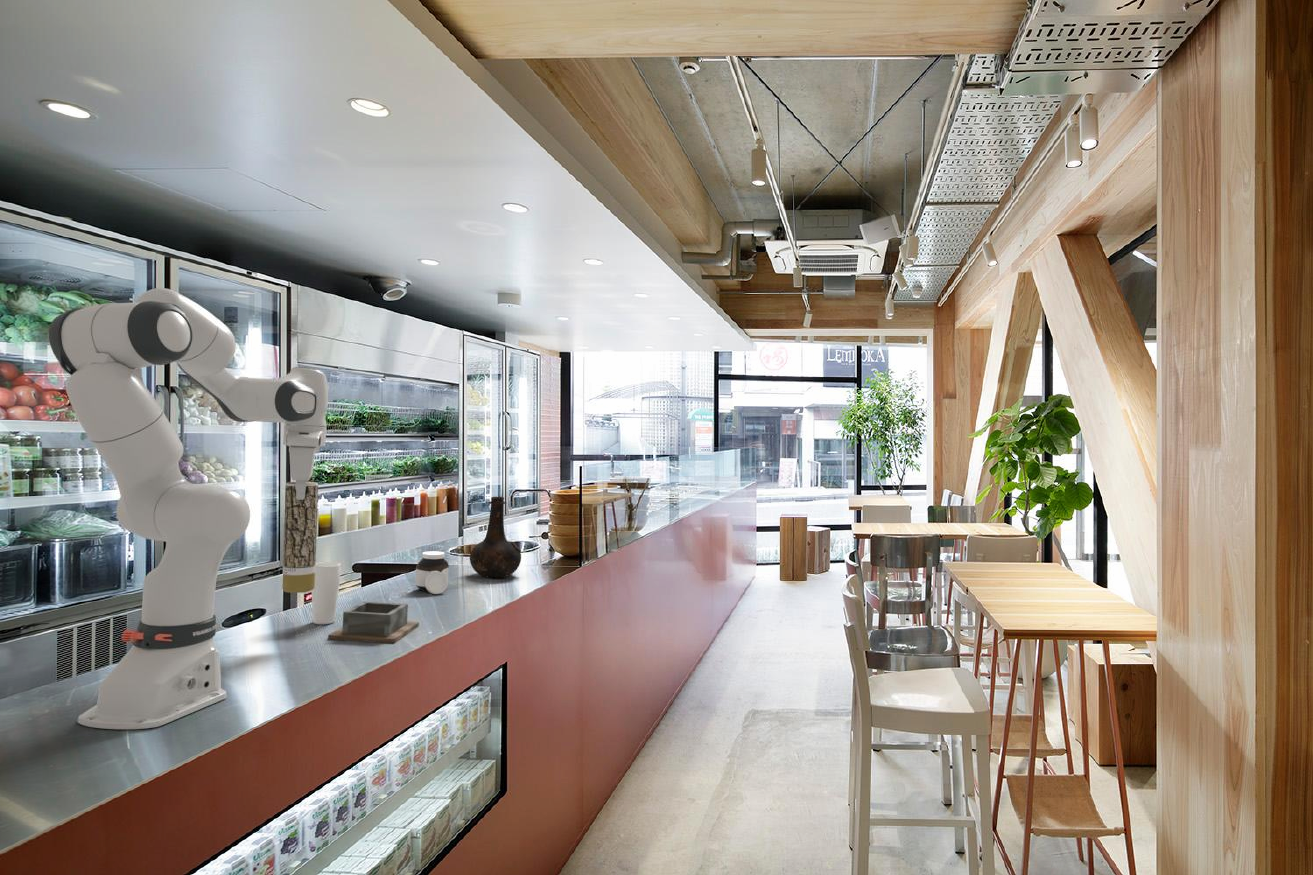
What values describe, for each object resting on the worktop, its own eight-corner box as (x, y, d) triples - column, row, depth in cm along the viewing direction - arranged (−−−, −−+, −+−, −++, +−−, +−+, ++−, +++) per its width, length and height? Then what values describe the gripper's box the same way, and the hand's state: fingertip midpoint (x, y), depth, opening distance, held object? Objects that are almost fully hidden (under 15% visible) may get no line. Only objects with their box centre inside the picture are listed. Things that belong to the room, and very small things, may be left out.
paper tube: (301, 594, 165) (305, 484, 165) (275, 592, 166) (278, 482, 166) (321, 588, 172) (324, 482, 172) (295, 586, 173) (299, 481, 173)
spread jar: (433, 585, 237) (435, 549, 237) (460, 590, 232) (462, 553, 232) (406, 591, 227) (408, 554, 227) (433, 596, 222) (435, 558, 222)
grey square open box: (394, 643, 172) (396, 617, 172) (328, 639, 173) (329, 613, 173) (418, 625, 188) (420, 602, 188) (357, 622, 189) (358, 599, 189)
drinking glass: (343, 621, 189) (346, 563, 189) (322, 627, 182) (325, 567, 182) (325, 617, 191) (328, 560, 191) (302, 623, 185) (306, 564, 185)
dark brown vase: (515, 581, 249) (519, 500, 249) (463, 579, 249) (467, 497, 249) (524, 572, 267) (528, 496, 267) (475, 569, 267) (479, 493, 267)
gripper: (292, 436, 177) (289, 493, 177) (286, 438, 158) (282, 501, 158) (321, 438, 180) (317, 494, 180) (318, 439, 161) (314, 502, 161)
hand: (301, 497), depth 169 cm, fingers closed on paper tube, 7 cm apart
